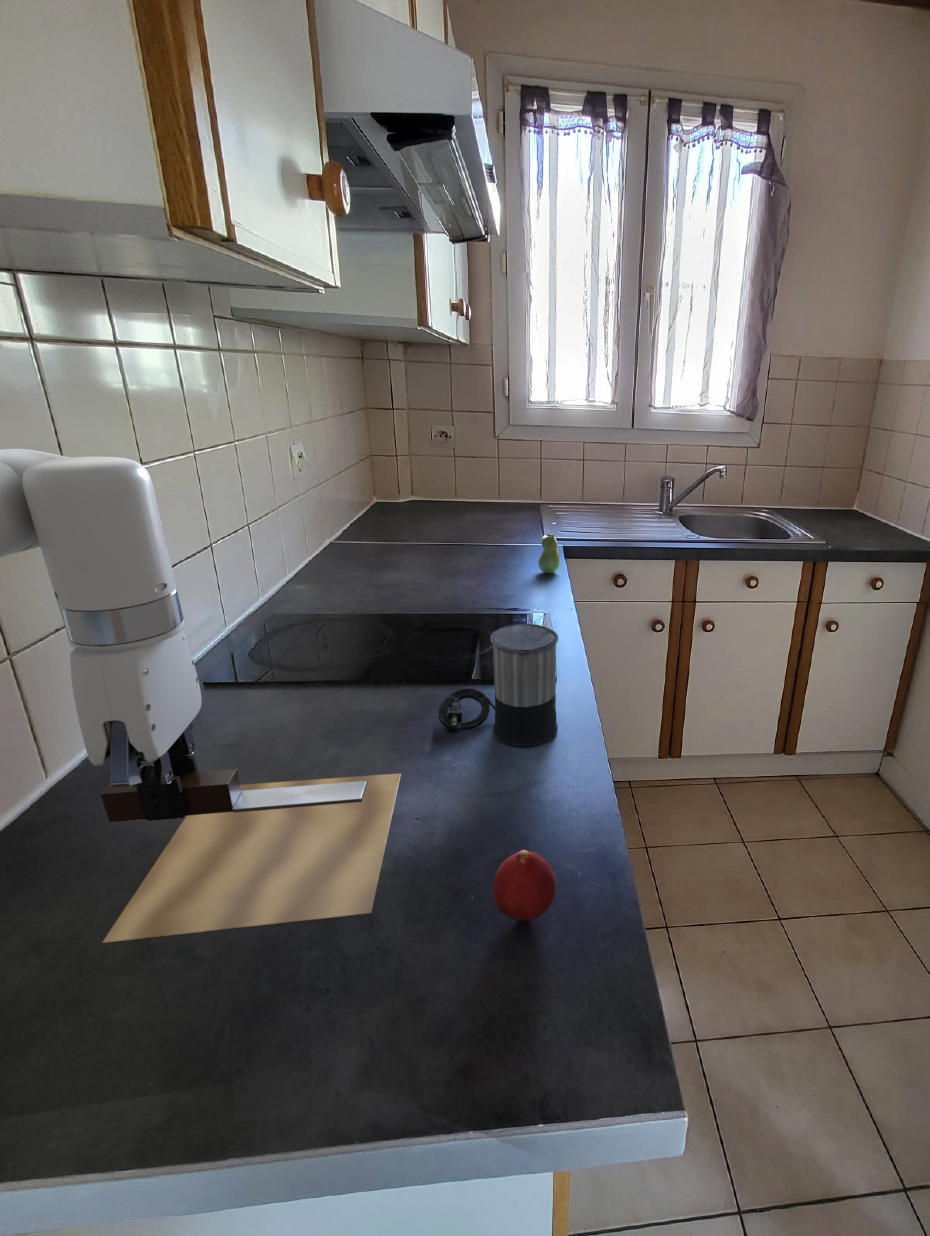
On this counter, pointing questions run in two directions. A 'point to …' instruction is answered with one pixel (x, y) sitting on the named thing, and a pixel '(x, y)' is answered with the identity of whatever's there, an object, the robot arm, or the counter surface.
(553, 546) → the pear
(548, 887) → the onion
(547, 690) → the milk frother
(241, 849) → the chopping board
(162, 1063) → the counter surface
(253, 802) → the knife
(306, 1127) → the counter surface
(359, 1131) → the counter surface
